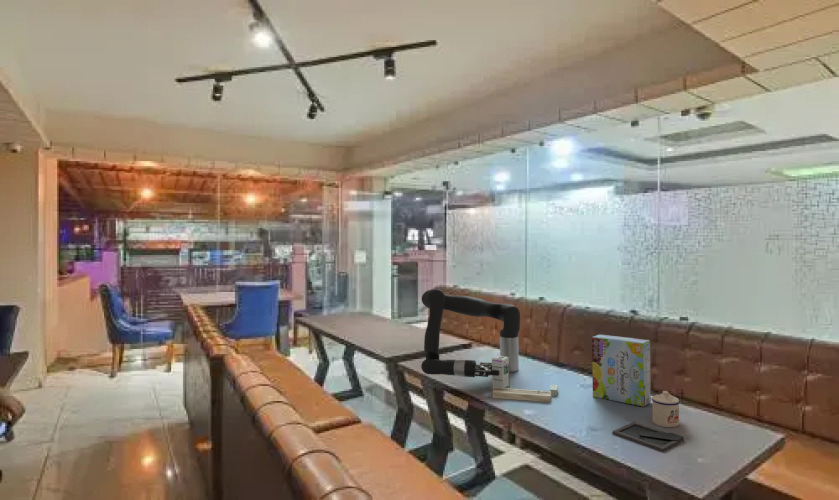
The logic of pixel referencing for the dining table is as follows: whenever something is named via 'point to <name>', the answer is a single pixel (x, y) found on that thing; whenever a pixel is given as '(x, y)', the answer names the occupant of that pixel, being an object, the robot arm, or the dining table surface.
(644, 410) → the dining table surface
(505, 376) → the syrup box
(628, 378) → the snack box
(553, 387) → the stop block
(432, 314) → the robot arm
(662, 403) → the teacup with lid
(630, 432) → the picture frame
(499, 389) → the birch board
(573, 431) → the dining table surface
